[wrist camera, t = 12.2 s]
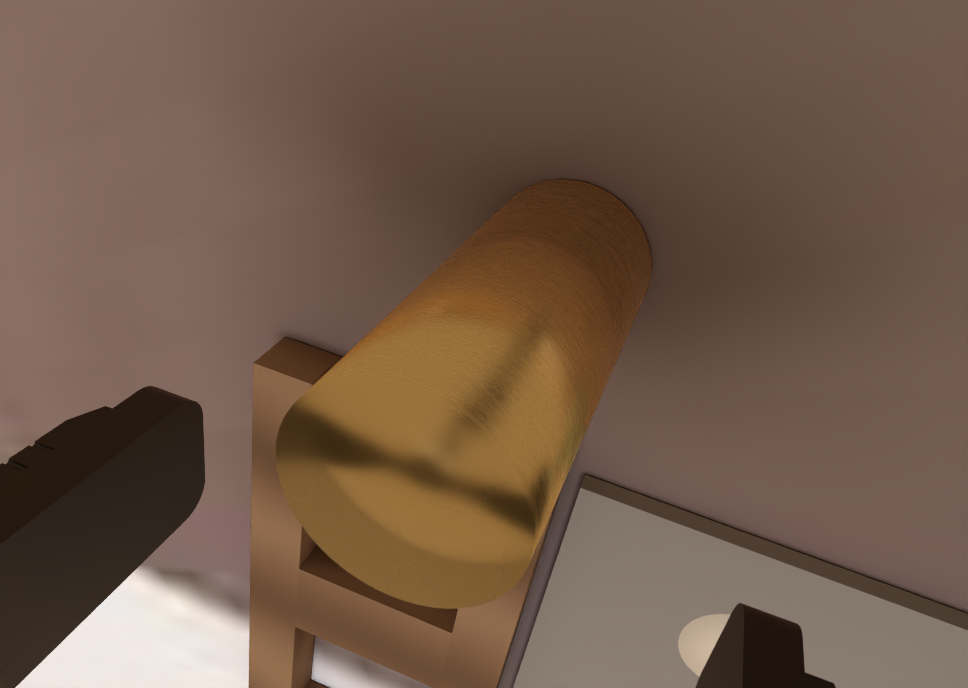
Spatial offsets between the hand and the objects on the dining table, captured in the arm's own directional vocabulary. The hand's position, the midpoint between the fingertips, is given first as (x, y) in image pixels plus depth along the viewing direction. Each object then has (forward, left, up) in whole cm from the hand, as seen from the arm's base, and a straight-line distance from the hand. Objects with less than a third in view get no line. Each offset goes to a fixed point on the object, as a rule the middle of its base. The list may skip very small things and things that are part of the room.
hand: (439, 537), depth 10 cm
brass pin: (-1, 0, -9) cm, 9 cm away
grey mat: (+13, +7, -9) cm, 18 cm away
